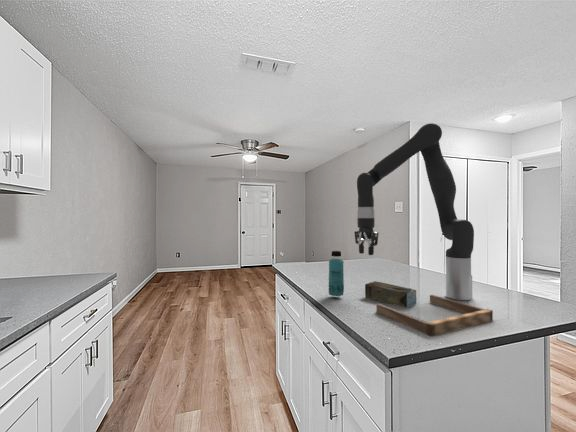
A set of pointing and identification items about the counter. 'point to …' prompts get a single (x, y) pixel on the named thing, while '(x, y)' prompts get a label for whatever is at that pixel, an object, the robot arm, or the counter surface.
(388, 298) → the beverage carton
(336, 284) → the beverage bottle
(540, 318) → the counter surface
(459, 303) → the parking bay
